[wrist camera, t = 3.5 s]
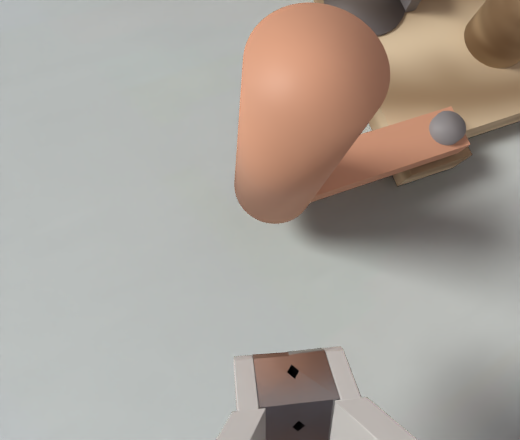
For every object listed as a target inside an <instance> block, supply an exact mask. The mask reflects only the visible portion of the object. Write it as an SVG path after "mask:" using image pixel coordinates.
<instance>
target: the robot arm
mask: <svg viewBox="0 0 520 440" xmlns="http://www.w3.org/2000/svg"><path fill="white" fill-rule="evenodd" d="M234 376H235V394H236V410H237V411H233V412H231V414H230V416H229V418H228V419H227V421H226V423H225V425H224V426H223V428H222V430H221V432H220V433H219V435H218V437H217V439H216V440H417V439H416V438H415V437H414V436H413V435H412V434H410V433H409V432H408V431H407V430H406V429H404V428H403V427H402V426H401V425H400V424H398V423H397V422H396V421H395V420H394V419H392V418H391V417H390V416H389V415H388V414H387V413H385V412H384V411H383V410H382V409H381V408H379V407H378V406H377V405H376V404H375V403H373V402H372V401H371V400H370V399H369V398H368V397H361V395H360V392H359V389H358V387H357V384H356V382H355V379H354V376H353V374H352V371H351V368H350V366H349V363H348V360H347V358H346V355H345V353H344V350H343V348H342V347H341V346H339V347H329V348H323V349H322V348H316V349H307V350H298V351H289V352H284V353H270V354H256V355H245V356H234Z"/></svg>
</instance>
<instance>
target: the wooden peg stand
mask: <svg viewBox="0 0 520 440" xmlns="http://www.w3.org/2000/svg"><path fill="white" fill-rule="evenodd" d="M314 2H315V3H321V4H328V5H331V6H335V7H338V8H341V9H343V10H346V11H347V12H349V13H351V14H353V15H355V16H356V17H358V18H359V19H361V20H362V21H363V22H364V23H365V24H367V25H368V26H369V27H370V28H371V29H372V30H373V31H374V33H375V34H376V35H377V37H378V38H379V39H380V41H381V43H382V45H383V46H384V49H385V51H386V54H387V56H388V60H389V65H390V84H389V89H388V92H387V95H386V98H385V100H384V102H383V103H382V105H381V107H380V108H379V109H378V111H377V112H376V113H375V115H374V116H373V118H372V119H371V120H370V122H369V124H370V127H371V129H372V131H373V130H376V129H380V128H383V127H386V126H389V125H393V124H396V123H399V122H402V121H405V120H409V119H412V118H415V117H418V116H421V115H425V114H428V113H431V112H434V111H437V110H441V109H444V108H447V107H450V106H452V108H453V110H454V112H455V113H457V114H459V115H460V116H461V117H462V118H463V120H464V121H465V124H466V133H465V134H466V136H467V138H470V137H473V136H476V135H479V134H482V133H485V132H488V131H491V130H494V129H497V128H500V127H503V126H506V125H509V124H513V123H516V122H519V121H520V0H314ZM471 155H472V153H471V151H470V149H469V147H466V148H465V149H463V150H462V151H461V152H459V153H457V154H454V155H451V156H448V157H445V158H442V159H439V160H436V161H433V162H430V163H427V164H424V165H421V166H418V167H415V168H412V169H409V170H406V171H403V172H400V173H397V174H394V175H392V176H393V178H394V180H395V182H396V184H397V186H400V185H403V184H406V183H409V182H412V181H415V180H418V179H421V178H424V177H427V176H430V175H433V174H435V173H438V172H441V171H444V170H447V169H450V168H453V167H455V166H456V165H458V164H459V163H461V162H462V161H464V160H465V159H467V158H468V157H470V156H471Z"/></svg>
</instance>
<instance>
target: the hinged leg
mask: <svg viewBox="0 0 520 440" xmlns="http://www.w3.org/2000/svg"><path fill="white" fill-rule="evenodd" d="M389 84H390V65H389V60H388V56H387V54H386V51H385V49H384V46H383V45H382V43H381V41H380V39H379V38H378V37H377V35H376V34H375V33H374V31H373V30H372V29H371V28H370V27H369V26H368V25H367V24H365V23H364V22H363V21H362V20H361V19H359V18H358V17H356V16H355V15H353V14H351V13H349V12H347V11H346V10H343V9H341V8H338V7H335V6H331V5H328V4H321V3H299V4H293V5H289V6H286V7H283V8H281V9H278V10H276V11H274V12H273V13H271V14H269V15H268V16H266V17H265V18H264V19H263V20H262V21H261V22H260V23H259V24H258V25H257V26H256V27H255V28H254V30H253V31H252V33H251V34H250V36H249V38H248V41H247V43H246V46H245V50H244V56H243V67H242V82H241V96H240V110H239V125H238V139H237V153H236V168H235V182H234V187H235V193H236V197H237V199H238V201H239V203H240V205H241V206H242V208H243V209H244V210H245V211H246V212H247V213H248V214H249V215H251V216H252V217H253V218H255V219H257V220H259V221H262V222H266V223H272V224H278V223H285V222H288V221H291V220H293V219H295V218H296V217H298V216H299V215H300V214H302V213H303V211H304V210H305V209H306V208H307V206H308V205H309V204H310V202H313V201H316V200H319V199H322V198H325V197H328V196H331V195H334V194H337V193H340V192H343V191H346V190H349V189H352V188H355V187H358V186H361V185H364V184H367V183H370V182H373V181H376V180H379V179H382V178H385V177H388V176H391V175H394V174H397V173H400V172H403V171H406V170H409V169H412V168H415V167H418V166H421V165H424V164H427V163H430V162H433V161H436V160H439V159H442V158H445V157H448V156H451V155H454V154H457V153H459V152H461V151H462V150H463V149H465V148H466V147H468V146H469V145H470V142H469V140H468V138H467V136H466V134H465V133H466V124H465V121H464V120H463V118H462V117H461V116H460V115H459V114H457V113H455V112H454V110H453V108H452V106H450V107H447V108H444V109H441V110H437V111H434V112H431V113H428V114H425V115H421V116H418V117H415V118H412V119H409V120H405V121H402V122H399V123H396V124H393V125H389V126H386V127H383V128H380V129H376V130H373V131H370V132H367V133H364V134H361V133H362V131H363V130H364V128H365V127H366V126H367V124H368V123H369V122H370V120H371V119H372V118H373V116H374V115H375V113H376V112H377V111H378V109H379V108H380V107H381V105H382V103H383V102H384V100H385V98H386V95H387V92H388V89H389Z"/></svg>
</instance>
